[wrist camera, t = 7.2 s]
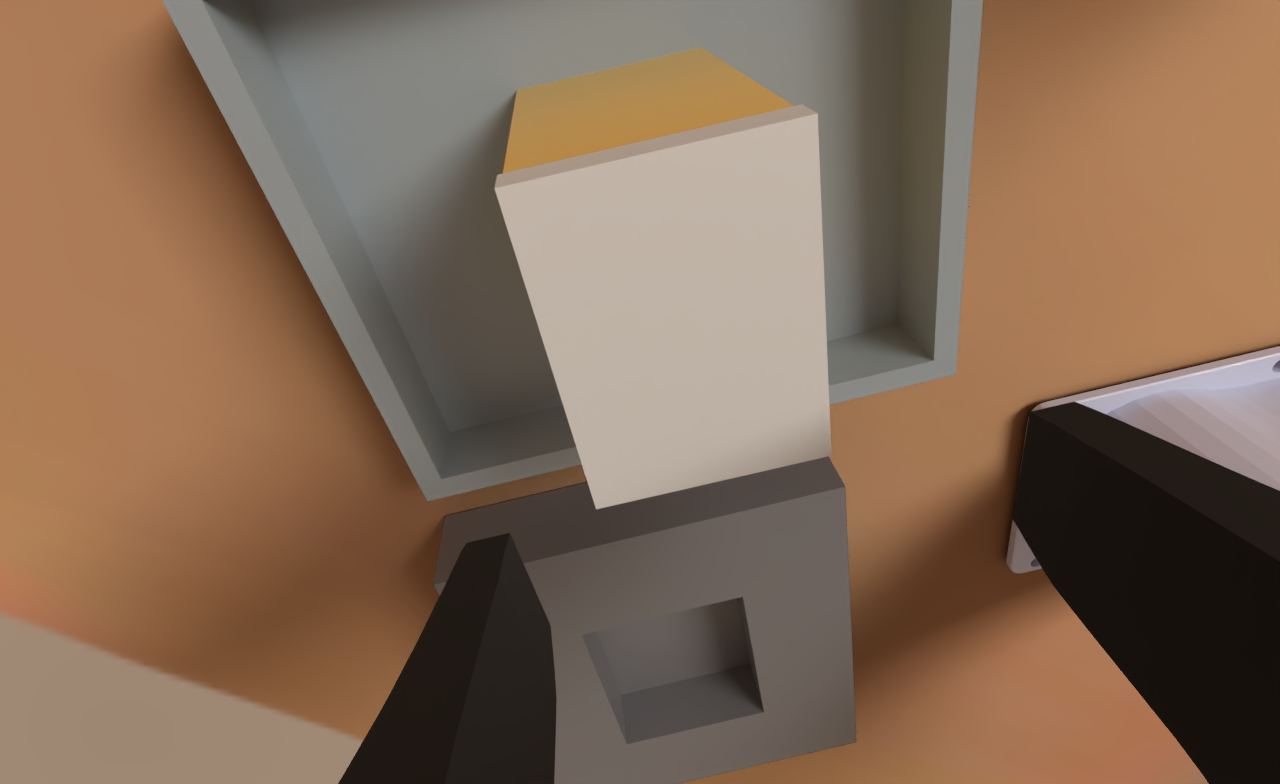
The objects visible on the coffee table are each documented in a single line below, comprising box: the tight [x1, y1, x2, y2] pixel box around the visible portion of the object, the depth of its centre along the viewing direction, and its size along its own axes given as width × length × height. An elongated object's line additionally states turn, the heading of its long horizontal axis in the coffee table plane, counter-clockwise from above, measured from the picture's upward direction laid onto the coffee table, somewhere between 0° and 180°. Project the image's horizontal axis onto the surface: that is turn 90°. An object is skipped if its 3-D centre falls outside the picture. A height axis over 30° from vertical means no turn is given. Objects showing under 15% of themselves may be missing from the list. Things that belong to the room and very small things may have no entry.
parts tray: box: [162, 0, 983, 501], centre depth 15 cm, size 14×12×3 cm
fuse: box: [494, 47, 831, 509], centre depth 13 cm, size 4×6×7 cm
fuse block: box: [433, 457, 856, 784], centre depth 24 cm, size 12×14×3 cm
